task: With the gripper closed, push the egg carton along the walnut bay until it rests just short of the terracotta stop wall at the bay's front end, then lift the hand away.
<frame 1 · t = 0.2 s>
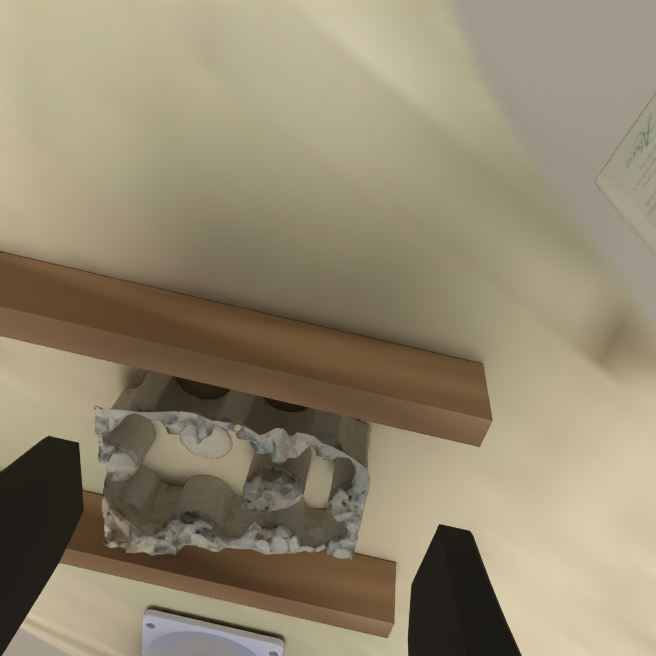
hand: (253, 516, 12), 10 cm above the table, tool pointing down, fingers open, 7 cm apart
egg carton: (247, 434, 25), on the table
bay: (152, 422, 25), on the table
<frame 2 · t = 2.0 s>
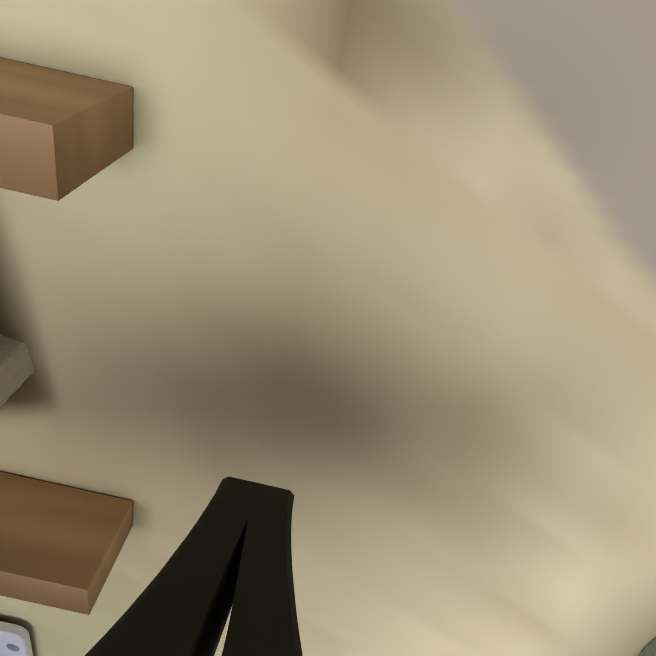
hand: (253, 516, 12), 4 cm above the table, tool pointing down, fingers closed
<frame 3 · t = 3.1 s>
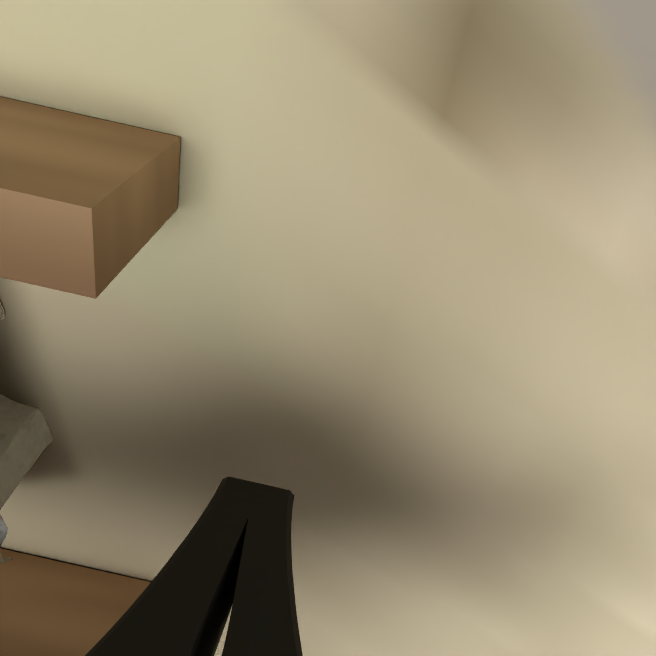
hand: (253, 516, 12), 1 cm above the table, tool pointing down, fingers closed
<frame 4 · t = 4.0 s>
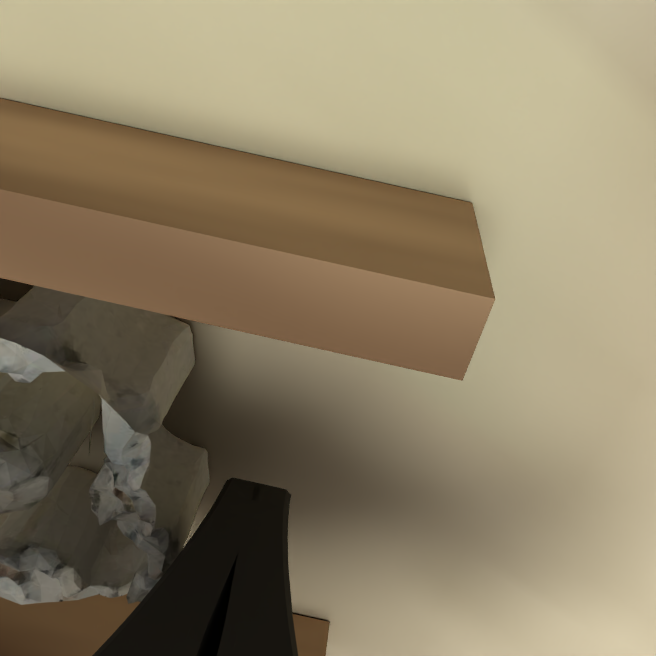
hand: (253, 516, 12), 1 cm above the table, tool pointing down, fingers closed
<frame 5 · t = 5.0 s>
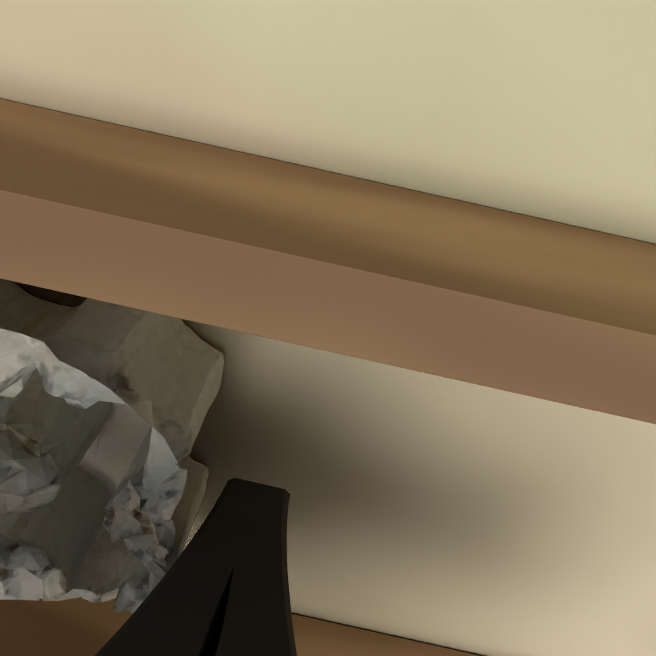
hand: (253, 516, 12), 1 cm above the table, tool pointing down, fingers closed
bay: (93, 425, 13), on the table
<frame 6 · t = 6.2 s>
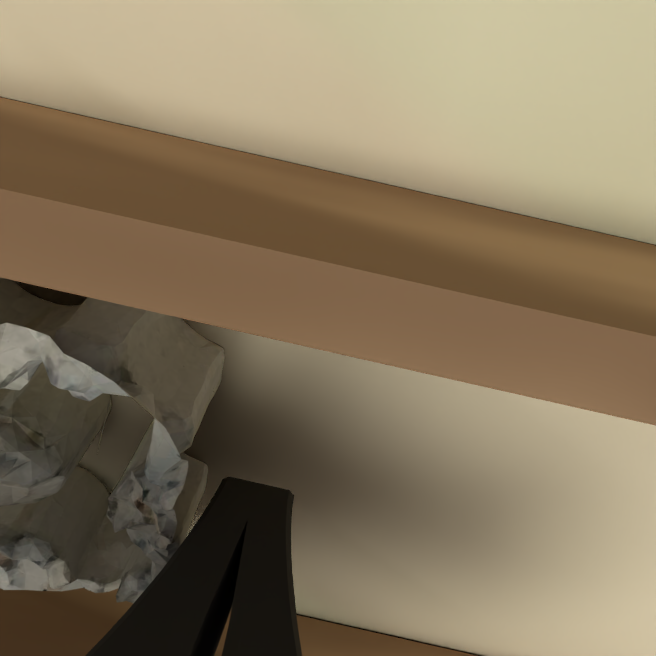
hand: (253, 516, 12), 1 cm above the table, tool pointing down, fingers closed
bay: (223, 454, 13), on the table
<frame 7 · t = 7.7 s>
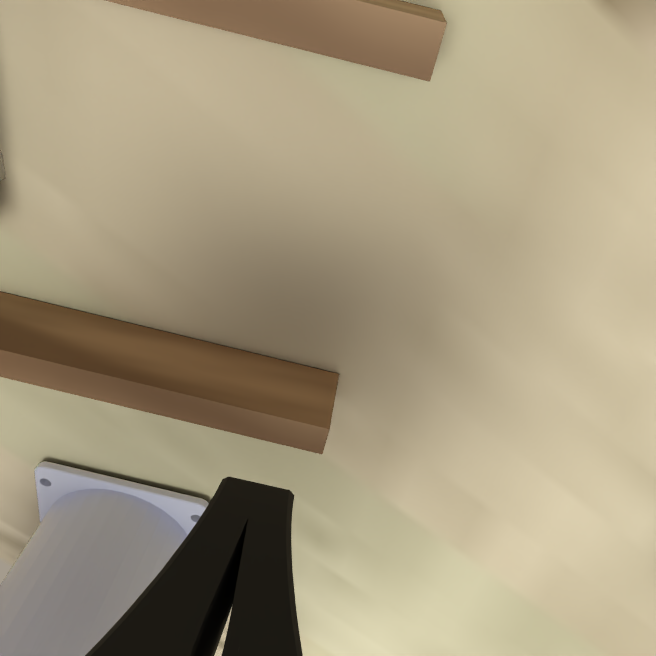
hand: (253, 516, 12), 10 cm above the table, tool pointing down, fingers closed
bay: (9, 152, 18), on the table
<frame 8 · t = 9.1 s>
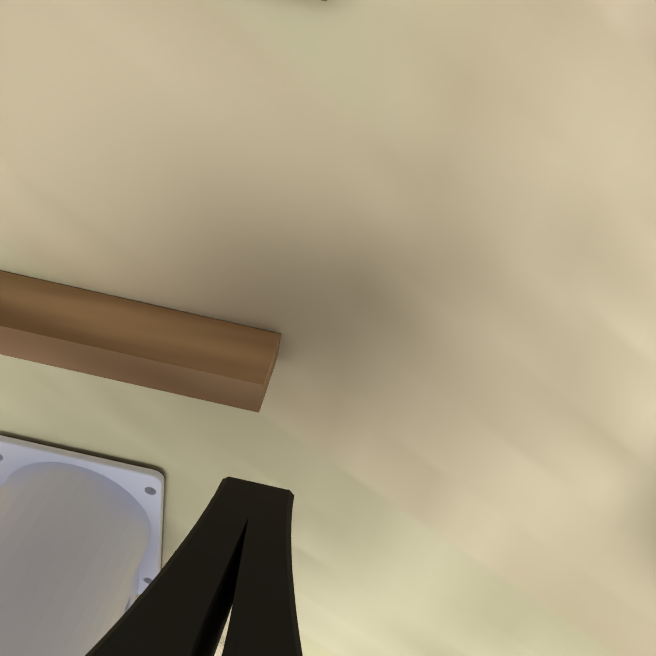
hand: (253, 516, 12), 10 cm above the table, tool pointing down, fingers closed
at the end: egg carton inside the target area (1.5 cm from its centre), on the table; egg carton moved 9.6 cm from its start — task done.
